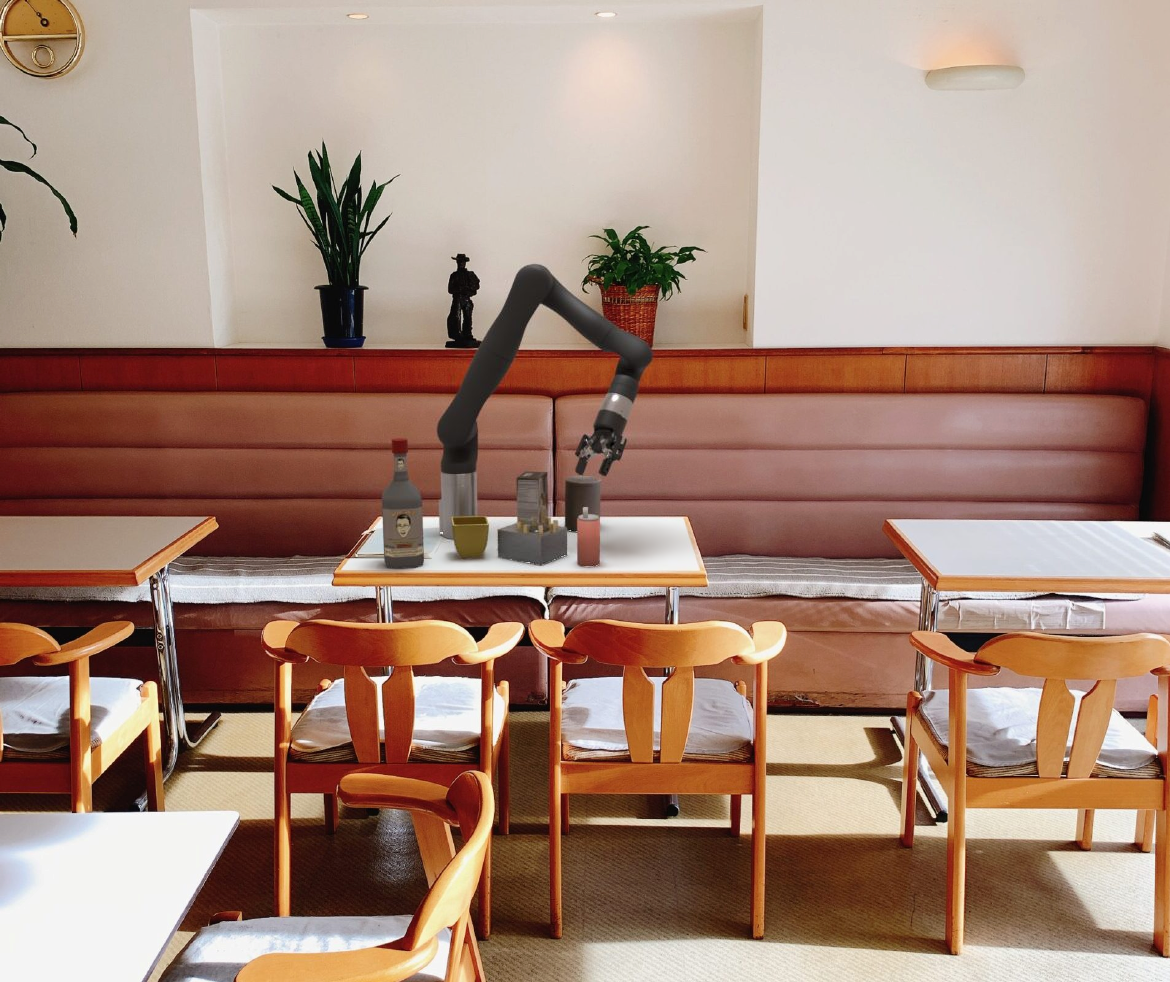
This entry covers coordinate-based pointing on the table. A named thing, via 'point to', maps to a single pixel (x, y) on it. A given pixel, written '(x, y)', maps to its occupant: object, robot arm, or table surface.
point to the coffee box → (532, 496)
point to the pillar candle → (581, 498)
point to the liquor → (402, 515)
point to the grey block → (532, 541)
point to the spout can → (588, 539)
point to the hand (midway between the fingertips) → (590, 474)
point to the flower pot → (470, 535)
